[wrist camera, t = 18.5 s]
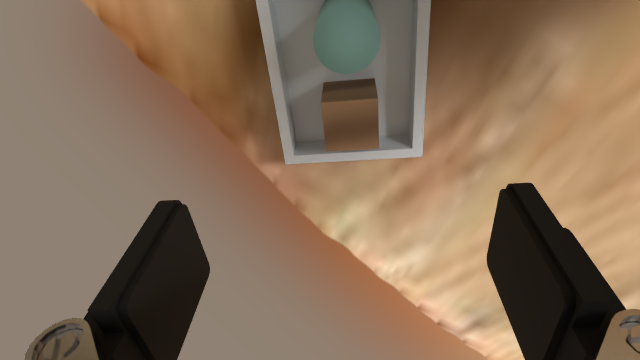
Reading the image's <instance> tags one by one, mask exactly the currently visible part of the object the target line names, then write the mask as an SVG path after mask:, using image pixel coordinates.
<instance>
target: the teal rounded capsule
mask: <svg viewBox="0 0 640 360" xmlns="http://www.w3.org/2000/svg"><path fill="white" fill-rule="evenodd" d="M313 45H314V50H315V53H316V55H317V57H318V59H319V60H320V62H321V63H322V64H323V65H324V66H325V67H326V68H328V69H329V70H331V71H333V72H336V73H340V74H352V73H356V72H359V71H361V70H363V69H364V68H366V67H367V66H368V65H369V64H370V63H371V62H372V61H373V60H374V58H375V57H376V55H377V53H378V50H379V46H380V31H379V28H378V24H377V21H376V17H375V14H374V10H373V7H372V5H371V3H370V1H369V0H325V1H324V2H323V4H322V6H321V9H320V12H319V16H318V19H317V23H316V27H315V31H314V36H313Z"/></svg>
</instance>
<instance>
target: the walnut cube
mask: <svg viewBox="0 0 640 360" xmlns="http://www.w3.org/2000/svg"><path fill="white" fill-rule="evenodd" d="M321 110H322V119H323V128H324V137H325V147H326V152H330V151H347V150H364V149H379V115H378V94H377V89H376V83H375V78H370V79H357V80H345V81H332V82H324V83H323V90H322V97H321Z"/></svg>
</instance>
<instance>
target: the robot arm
mask: <svg viewBox="0 0 640 360" xmlns="http://www.w3.org/2000/svg"><path fill="white" fill-rule="evenodd" d="M487 265H488V268H489V271H490V273H491V276H492V278H493V281H494V283H495V286H496V288H497V291H498V293H499V296H500V298H501V301H502V303H503V306H504V308H505V311H506V313H507V316H508V318H509V321H510V323H511V326H512V328H513V331H514V333H515V336H516V338H517V341H518V343H519V346H520V348H521V351H522V353H523V356H524V358H525V360H640V310H638V309H629V310H626V308H625V307H624V306H623V304H622V303H621V301H620V300H619V299H618V297H617V296H616V294H615V293H614V292H613V290H612V289H611V287H610V286H609V284H608V283H607V282H606V280H605V279H604V277H603V276H602V275H601V273H600V272H599V270H598V269H597V267H596V266H595V265H594V263H593V262H592V260H591V259H590V258H589V256H588V255H587V253H586V252H585V250H584V249H583V248H582V246H581V245H580V243H579V242H578V241H577V239H576V238H575V236H574V235H573V234H572V232H571V231H570V230H569V229H566V228H563V227H562V226H561V225H560V223H559V222H558V220H557V219H556V217H555V216H554V214H553V213H552V211H551V210H550V209H549V207H548V206H547V204H546V203H545V201H544V200H543V198H542V197H541V195H540V194H539V193H538V191H537V190H536V188H535V187H534V185H533V184H532V183H514V184H508V185H507V187H506V189H502V190H501V191H500V193H499V198H498V203H497V208H496V213H495V218H494V223H493V228H492V233H491V238H490V243H489V248H488V253H487ZM209 273H210V267H209V262H208V260H207V257H206V255H205V252H204V249H203V247H202V244H201V241H200V239H199V237H198V234H197V231H196V228H195V226H194V223H193V220H192V218H191V215H190V213H189V210H188V208H187V206H186V205H184V204H182V203H181V202H180V201H179V200H169V201H159V202H158V203H157V204H156V206H155V208H154V209H153V211H152V212H151V214H150V215H149V217H148V218H147V220H146V221H145V223H144V224H143V226H142V228H141V229H140V231H139V232H138V234H137V235H136V237H135V238H134V240H133V241H132V243H131V244H130V246H129V247H128V249H127V250H126V252H125V253H124V255H123V256H122V258H121V260H120V261H119V263H118V264H117V266H116V267H115V269H114V270H113V272H112V273H111V275H110V276H109V278H108V279H107V281H106V283H105V284H104V286H103V287H102V289H101V290H100V292H99V293H98V295H97V296H96V298H95V299H94V301H93V303H92V304H91V306H90V307H89V309H88V313H87V314H86V316H85V318H84V319H81V318H71V319H66V320H63V321H60V322H58V323H55V324H54V325H52V326H51V327H49V328H47V329H46V330H44V331H43V332H42V333H41V334H40V335H39V336H37V337H36V338H35V340H34V341H33V342H32V343H31V345H30V346H29V348H28V350H27V352H26V354H25V360H177V358H178V356H179V353H180V351H181V348H182V345H183V343H184V340H185V337H186V334H187V332H188V329H189V327H190V324H191V322H192V319H193V316H194V314H195V311H196V308H197V306H198V303H199V300H200V298H201V295H202V293H203V290H204V287H205V285H206V282H207V279H208V277H209Z"/></svg>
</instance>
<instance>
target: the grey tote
mask: <svg viewBox="0 0 640 360" xmlns="http://www.w3.org/2000/svg"><path fill="white" fill-rule="evenodd" d="M324 1H325V0H256V5H257V10H258V16H259V21H260V27H261V32H262V38H263V43H264V49H265V54H266V60H267V65H268V71H269V76H270V82H271V87H272V93H273V98H274V104H275V109H276V115H277V120H278V126H279V131H280V137H281V142H282V148H283V153H284V159H285V164H303V163H321V162H338V161H356V160H373V159H390V158H408V157H422V153H423V135H424V117H425V99H426V81H427V63H428V45H429V27H430V9H431V0H369V1H370V3H371V5H372V7H373V10H374V14H375V17H376V21H377V24H378V28H379V31H380V46H379V50H378V53H377V55H376V57H375V58H374V60H373V61H372V62H371V63H370V64H369V65H368V66H367V67H366V68H364V69H363V70H361V71H359V72H356V73H352V74H340V73H336V72H333V71H331V70H329V69H328V68H326V67H325V66H324V65H323V64H322V63H321V62H320V60H319V59H318V57H317V55H316V53H315V50H314V45H313V36H314V31H315V27H316V23H317V19H318V16H319V12H320V9H321V6H322V4H323V2H324ZM370 78H375V83H376V89H377V94H378V115H379V149H364V150H347V151H330V152H326V147H325V137H324V128H323V119H322V110H321V97H322V90H323V83H324V82H332V81H345V80H357V79H370Z"/></svg>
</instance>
